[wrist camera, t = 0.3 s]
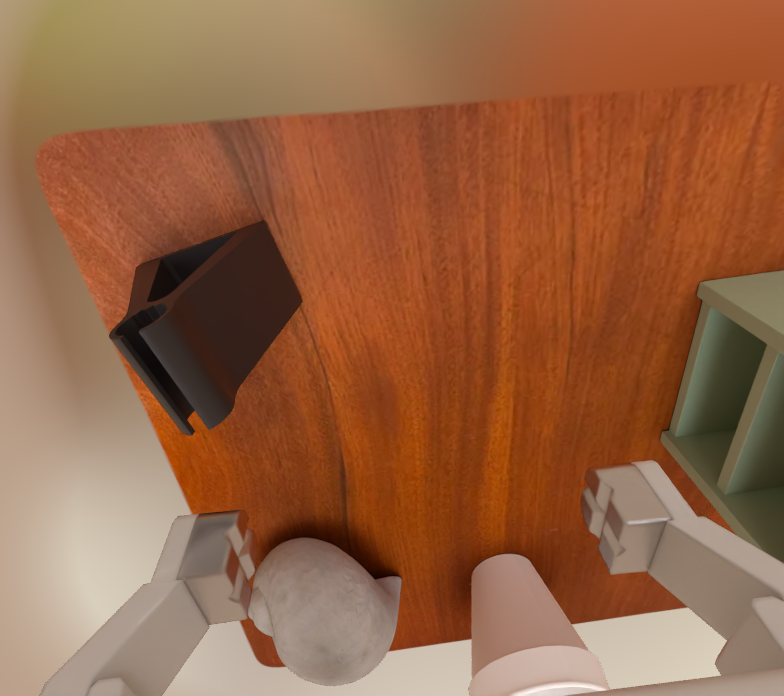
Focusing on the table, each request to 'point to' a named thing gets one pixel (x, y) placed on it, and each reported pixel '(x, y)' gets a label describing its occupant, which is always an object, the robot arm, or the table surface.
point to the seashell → (324, 611)
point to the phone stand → (206, 321)
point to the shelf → (736, 406)
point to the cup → (525, 636)
